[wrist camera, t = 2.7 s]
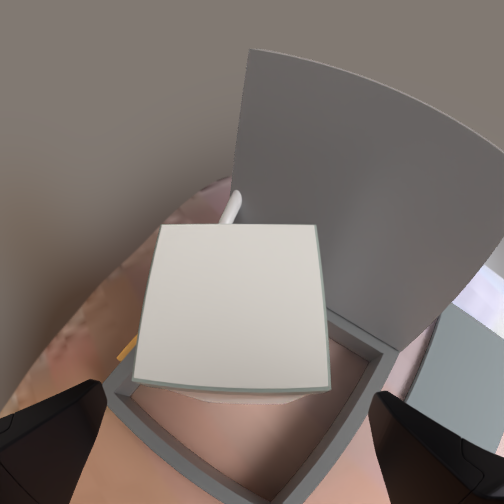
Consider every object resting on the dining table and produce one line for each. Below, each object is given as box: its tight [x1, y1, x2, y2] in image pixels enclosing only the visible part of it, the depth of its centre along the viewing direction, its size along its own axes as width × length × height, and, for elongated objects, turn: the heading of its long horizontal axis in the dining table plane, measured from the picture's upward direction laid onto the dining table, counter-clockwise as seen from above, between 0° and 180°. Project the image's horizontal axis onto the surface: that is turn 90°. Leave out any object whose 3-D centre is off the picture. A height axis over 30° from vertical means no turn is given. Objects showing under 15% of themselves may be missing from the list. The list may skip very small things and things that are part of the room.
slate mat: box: [404, 303, 504, 454], centre depth 15 cm, size 12×12×1 cm
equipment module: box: [132, 224, 331, 404], centre depth 13 cm, size 5×5×12 cm
